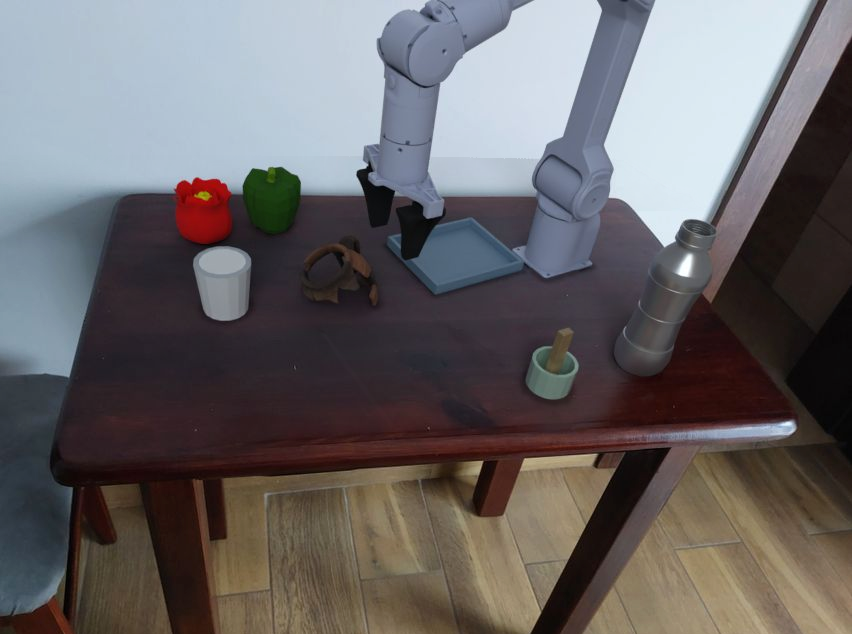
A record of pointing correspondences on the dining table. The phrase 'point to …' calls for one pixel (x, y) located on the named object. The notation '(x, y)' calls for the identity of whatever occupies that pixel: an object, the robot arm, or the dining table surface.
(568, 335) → the stirrer
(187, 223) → the flower
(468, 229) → the spoon tray
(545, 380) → the espresso cup
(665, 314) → the grey metal bottle
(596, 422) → the dining table surface
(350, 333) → the dining table surface
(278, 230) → the bell pepper
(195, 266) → the shot glass
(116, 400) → the dining table surface
